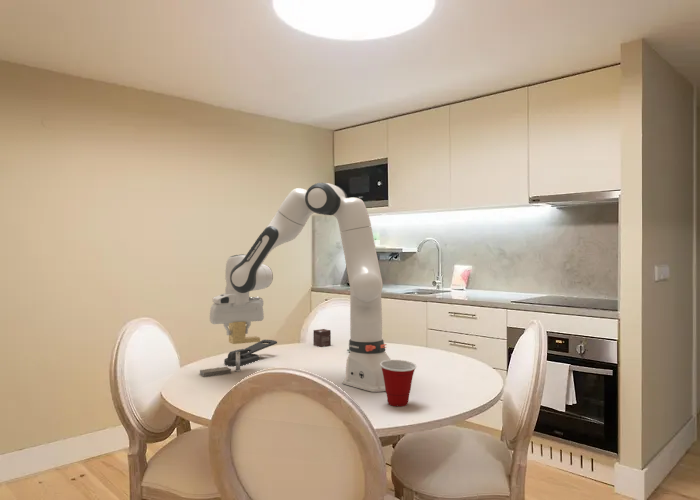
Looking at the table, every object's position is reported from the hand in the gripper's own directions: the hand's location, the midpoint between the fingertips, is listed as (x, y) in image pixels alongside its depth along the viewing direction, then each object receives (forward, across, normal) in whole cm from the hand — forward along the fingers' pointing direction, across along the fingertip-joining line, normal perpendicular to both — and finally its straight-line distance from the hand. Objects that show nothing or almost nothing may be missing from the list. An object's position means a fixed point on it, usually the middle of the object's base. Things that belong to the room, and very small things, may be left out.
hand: (237, 334), depth 199 cm
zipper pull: (+14, -11, -15) cm, 24 cm away
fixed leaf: (+14, +6, 0) cm, 15 cm away
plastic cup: (+13, -26, +66) cm, 72 cm away
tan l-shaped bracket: (+3, -3, 0) cm, 4 cm away
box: (+14, -51, -28) cm, 60 cm away
